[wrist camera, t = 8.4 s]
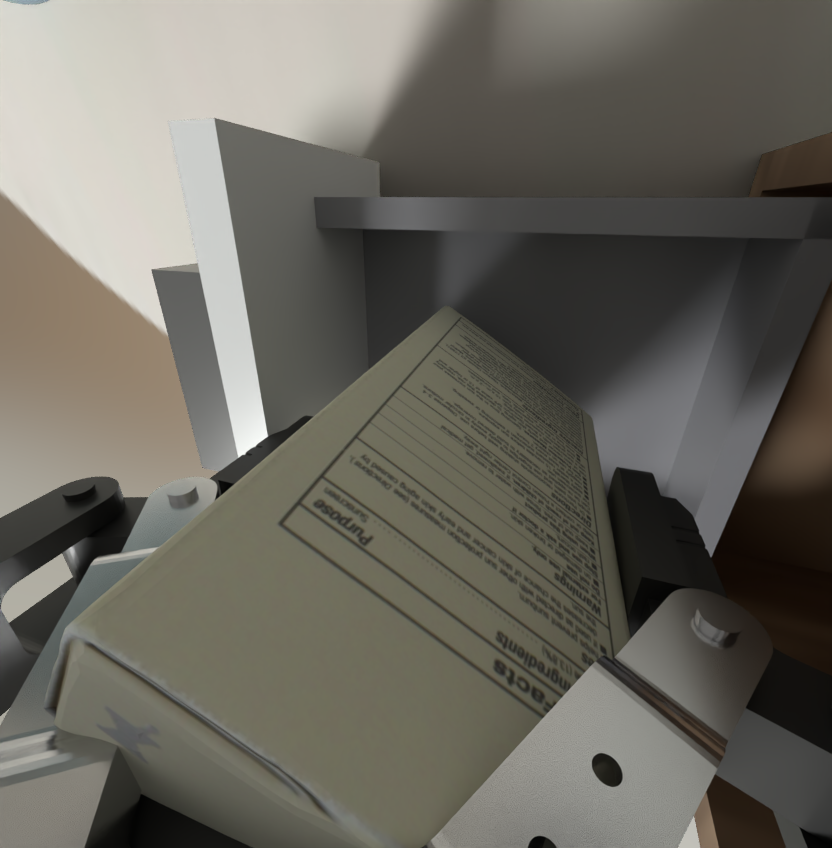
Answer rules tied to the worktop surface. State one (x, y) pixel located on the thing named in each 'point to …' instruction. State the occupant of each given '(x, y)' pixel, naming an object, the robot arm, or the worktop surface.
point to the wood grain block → (783, 513)
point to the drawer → (491, 302)
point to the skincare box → (362, 608)
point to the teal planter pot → (27, 1)
